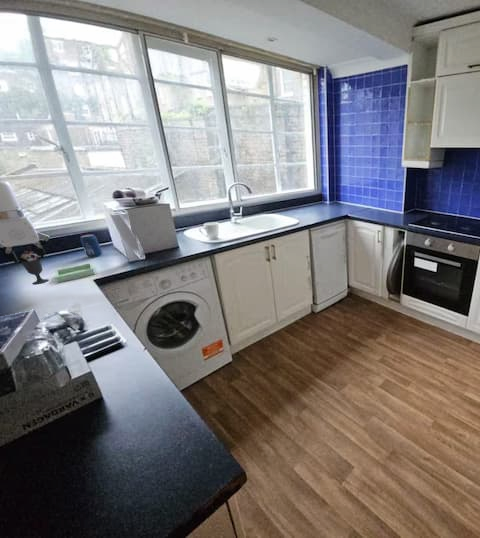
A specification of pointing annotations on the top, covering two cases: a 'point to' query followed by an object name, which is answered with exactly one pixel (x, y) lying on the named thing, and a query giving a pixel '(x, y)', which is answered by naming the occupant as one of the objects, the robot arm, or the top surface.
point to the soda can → (91, 245)
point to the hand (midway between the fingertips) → (29, 259)
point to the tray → (74, 272)
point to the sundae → (32, 265)
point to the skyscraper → (128, 236)
